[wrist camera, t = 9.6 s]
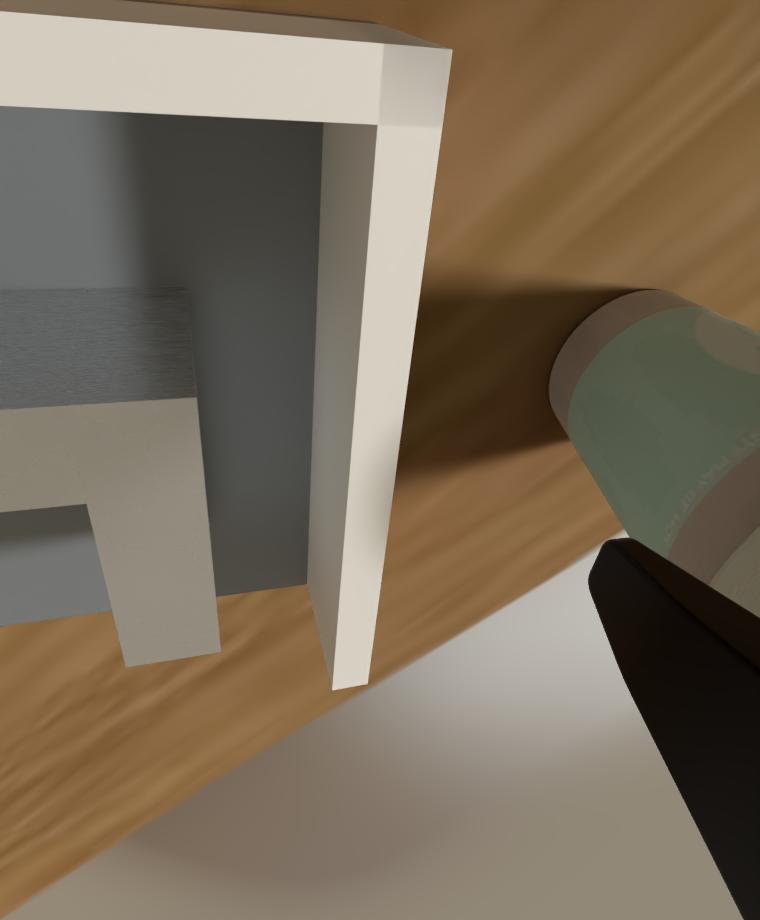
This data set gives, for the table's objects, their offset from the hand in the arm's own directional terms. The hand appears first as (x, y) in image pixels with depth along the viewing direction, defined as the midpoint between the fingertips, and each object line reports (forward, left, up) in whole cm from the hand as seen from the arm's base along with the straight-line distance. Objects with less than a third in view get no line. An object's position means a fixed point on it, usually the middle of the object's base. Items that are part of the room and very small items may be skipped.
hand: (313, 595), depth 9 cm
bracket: (+4, -5, -11) cm, 13 cm away
